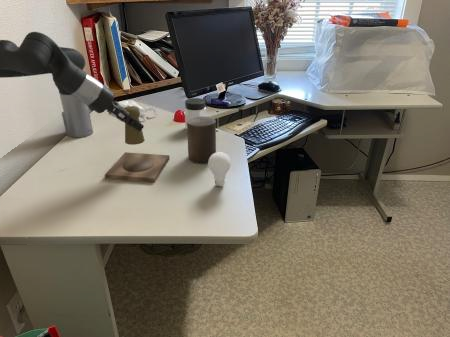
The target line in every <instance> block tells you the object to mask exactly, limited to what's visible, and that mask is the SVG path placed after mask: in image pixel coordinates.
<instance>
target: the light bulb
mask: <svg viewBox="0 0 450 337" xmlns="http://www.w3.org/2000/svg"><path fill="white" fill-rule="evenodd" d="M231 161H232V160H231V158H230V156H229V155H228V154H227V153H225V152H221V151H216V153H214V154H212V155H211V157H210V158H209V161H208V163H207V166H208V168H209V170H210V172H211V173H212V175H213V179H214V185H215V186H216V187H223V186H224V185H225V182H226V181H225V179H226V176H227V173H228V172H229V171H230V169H231V166H232V162H231Z"/></svg>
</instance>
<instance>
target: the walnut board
mask: <svg viewBox="0 0 450 337" xmlns="http://www.w3.org/2000/svg"><path fill="white" fill-rule="evenodd" d="M169 161H170V155H168V154H156V153H140V152H129V151H128V152H124V153H123V154H122V155H121V156H120V157H119V158H118V159H117V160H116V162H115V163H114V164H113V165H112V166H111V167H110V168H109V169H108V170H107V171H106V173H105V174H104V178H105V179H106V180H116V181H117V180H119V181H120V180H121V181H130V182H141V183H142V182H143V183H156V182H157V180H158V178H159V177H160V175H161V173H162V172H163V170H164V168H166V165H168V163H169Z"/></svg>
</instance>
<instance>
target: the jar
mask: <svg viewBox="0 0 450 337" xmlns="http://www.w3.org/2000/svg"><path fill="white" fill-rule="evenodd" d="M199 116H200V117H201V116H203V117H207V107H206V100H205V99H203V98H199V97H198V98H197V97H196V98H195V97H193V98H188V99H186V100H185V101H184V122H185V123H184V124H185V125H184V126H185V130H187V120H188V119H190V118H193V117H199Z"/></svg>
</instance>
